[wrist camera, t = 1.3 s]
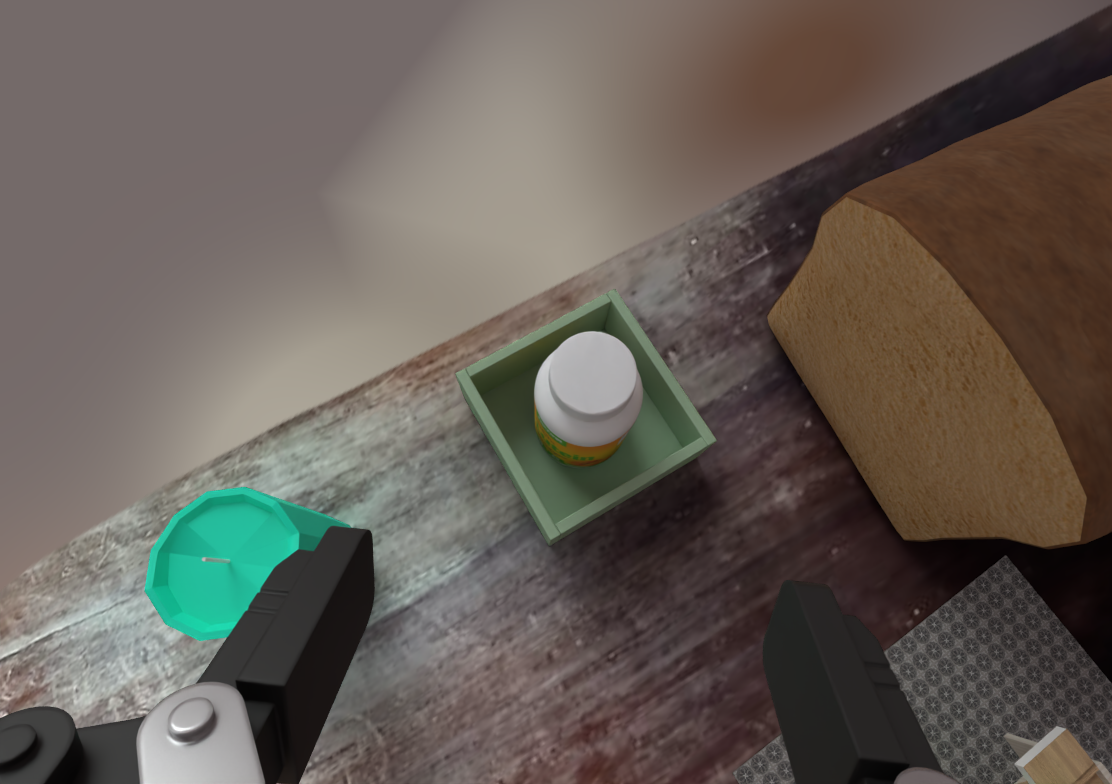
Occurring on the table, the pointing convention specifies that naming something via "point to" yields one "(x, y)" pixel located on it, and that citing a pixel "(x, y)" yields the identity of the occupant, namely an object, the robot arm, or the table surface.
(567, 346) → the supplement bottle
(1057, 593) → the table surface
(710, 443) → the basket
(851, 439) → the bread
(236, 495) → the candle
